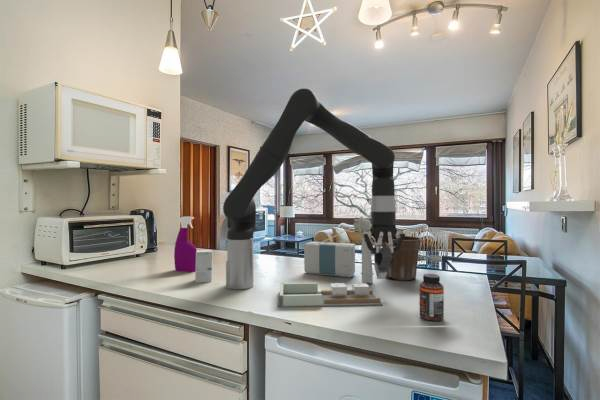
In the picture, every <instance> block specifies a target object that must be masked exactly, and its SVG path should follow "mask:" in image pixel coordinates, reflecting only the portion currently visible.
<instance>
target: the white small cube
mask: <svg viewBox="0 0 600 400" xmlns="http://www.w3.org/2000/svg"><path fill="white" fill-rule="evenodd" d="M351 290H352V296H353V298H369V290H370V285H369V284H366V283H362V282H352V283H351Z"/></svg>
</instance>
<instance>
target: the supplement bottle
mask: <svg viewBox="0 0 600 400" xmlns="http://www.w3.org/2000/svg"><path fill="white" fill-rule="evenodd" d="M422 276H423V278H422V279H423V280H422V281H421V282H420V283H419V315H420V317H421V318H422V319H424V320H427V321H432V322H439V321H442V320H444V315H445V313H444V309H445V308H444V304H445V302H444V301H445V300H444V299H445V298H444V297H445V295H444V294H445V292H444V290H445V289H444V285H443V284H442V283H441V282H440V281H441V278H440V275H439V274H436V273H424V274H423V275H422Z"/></svg>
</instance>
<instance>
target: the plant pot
mask: <svg viewBox="0 0 600 400" xmlns="http://www.w3.org/2000/svg"><path fill="white" fill-rule="evenodd" d="M396 239H397V238H396V235H395V236H394V238H393V239H392V242H393V246H394V244H395V241H396ZM422 241H423V238H421V237H417V236H411V235H410V236H408V235H405V237H404V239H403V242H402V244H401V246H400V249H399V250H398V251H395V252H393V263H391V265H389V267H388V270H387V274H386V277H385V278H388V279H391V278H392V279H393V280H397V281H411V280H415V279H416V278H417V272H418V271H417V268H418V260H419V252H420V248H421V242H422ZM381 248H387V245H386V242H382V244H381Z"/></svg>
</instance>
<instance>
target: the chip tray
mask: <svg viewBox="0 0 600 400" xmlns="http://www.w3.org/2000/svg"><path fill="white" fill-rule="evenodd" d="M279 286H280V287H279V292H280V306H315V305H322V294H300V295H283V293H315V292H319V287H318V286H319V283H318V282H282V283H281V282H280V284H279Z"/></svg>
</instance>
